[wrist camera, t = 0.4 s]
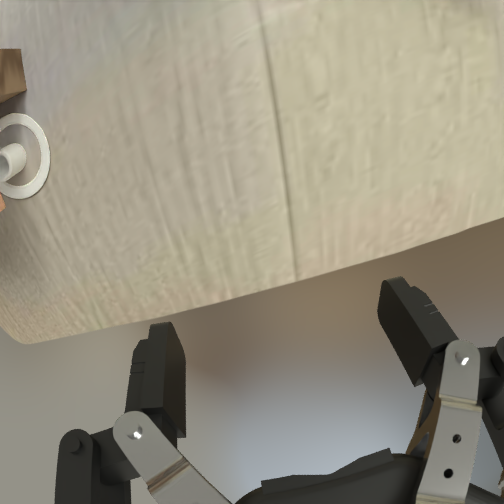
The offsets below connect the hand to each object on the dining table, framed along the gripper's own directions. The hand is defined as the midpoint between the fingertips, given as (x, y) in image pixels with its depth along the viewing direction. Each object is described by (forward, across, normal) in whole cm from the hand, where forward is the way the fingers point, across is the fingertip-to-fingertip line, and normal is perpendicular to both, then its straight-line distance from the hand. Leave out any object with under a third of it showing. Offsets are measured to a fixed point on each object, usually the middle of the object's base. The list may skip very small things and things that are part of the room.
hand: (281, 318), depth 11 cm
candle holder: (+30, +28, -6) cm, 41 cm away
